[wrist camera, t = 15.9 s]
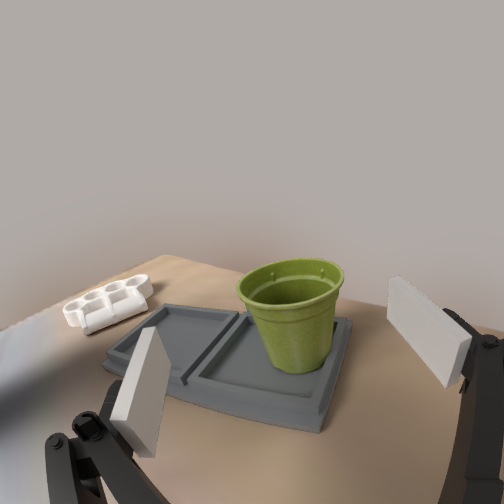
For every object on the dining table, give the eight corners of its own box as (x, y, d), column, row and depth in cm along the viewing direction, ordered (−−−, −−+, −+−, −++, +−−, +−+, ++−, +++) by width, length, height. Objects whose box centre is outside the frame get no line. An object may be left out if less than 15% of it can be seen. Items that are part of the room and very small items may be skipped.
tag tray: (103, 368, 31) (84, 330, 30) (171, 310, 44) (160, 276, 42) (319, 433, 19) (316, 386, 17) (352, 326, 32) (350, 281, 30)
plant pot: (252, 336, 33) (236, 267, 30) (332, 320, 32) (326, 250, 30) (256, 395, 24) (235, 315, 21) (359, 373, 24) (360, 290, 21)
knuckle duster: (70, 347, 37) (69, 314, 49) (168, 306, 46) (146, 283, 58) (61, 329, 36) (62, 299, 48) (162, 288, 45) (141, 268, 57)
